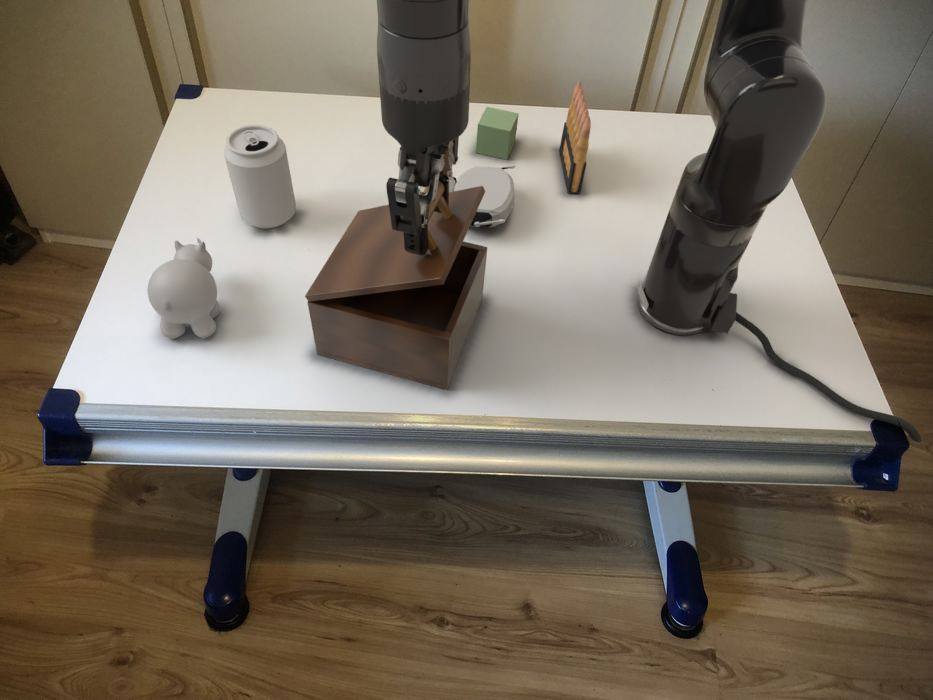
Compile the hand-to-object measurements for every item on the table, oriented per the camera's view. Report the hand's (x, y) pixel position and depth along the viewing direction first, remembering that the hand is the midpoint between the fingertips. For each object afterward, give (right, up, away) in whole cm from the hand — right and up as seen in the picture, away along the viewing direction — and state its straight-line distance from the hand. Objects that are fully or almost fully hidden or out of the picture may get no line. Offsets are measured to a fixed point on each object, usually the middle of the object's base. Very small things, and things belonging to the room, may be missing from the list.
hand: (427, 229), depth 69 cm
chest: (-4, -9, +13) cm, 16 cm away
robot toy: (+3, +7, +27) cm, 28 cm away
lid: (-3, -1, +3) cm, 5 cm away
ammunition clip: (+19, +14, +34) cm, 42 cm away
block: (+8, +19, +37) cm, 42 cm away
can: (-23, +6, +24) cm, 34 cm away
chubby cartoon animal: (-28, -7, +13) cm, 32 cm away
